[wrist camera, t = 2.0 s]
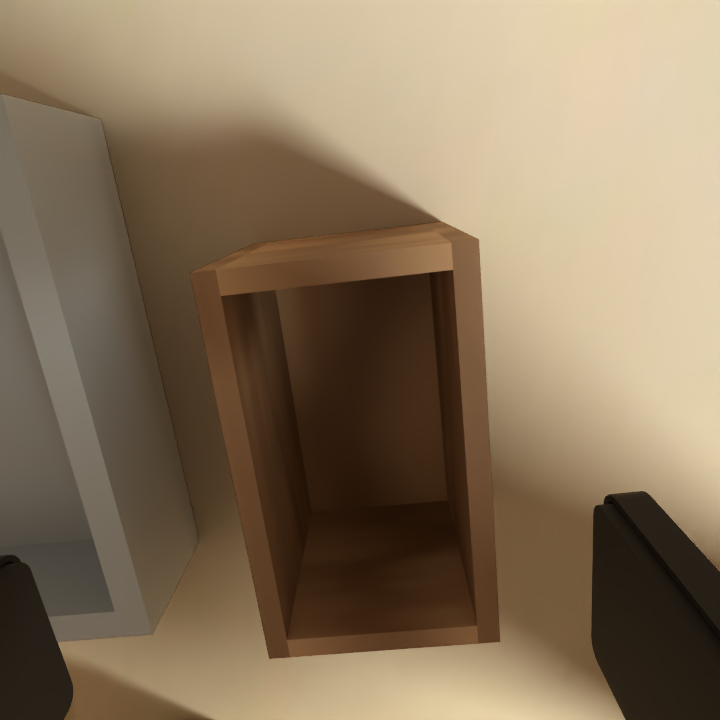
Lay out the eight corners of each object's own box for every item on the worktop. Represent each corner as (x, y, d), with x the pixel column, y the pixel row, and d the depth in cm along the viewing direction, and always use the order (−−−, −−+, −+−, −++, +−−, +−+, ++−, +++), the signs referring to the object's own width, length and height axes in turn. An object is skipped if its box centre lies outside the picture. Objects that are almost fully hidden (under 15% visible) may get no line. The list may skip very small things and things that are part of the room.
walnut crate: (441, 221, 19) (478, 239, 12) (462, 504, 22) (500, 641, 15) (254, 243, 19) (189, 272, 12) (300, 518, 22) (269, 658, 16)
